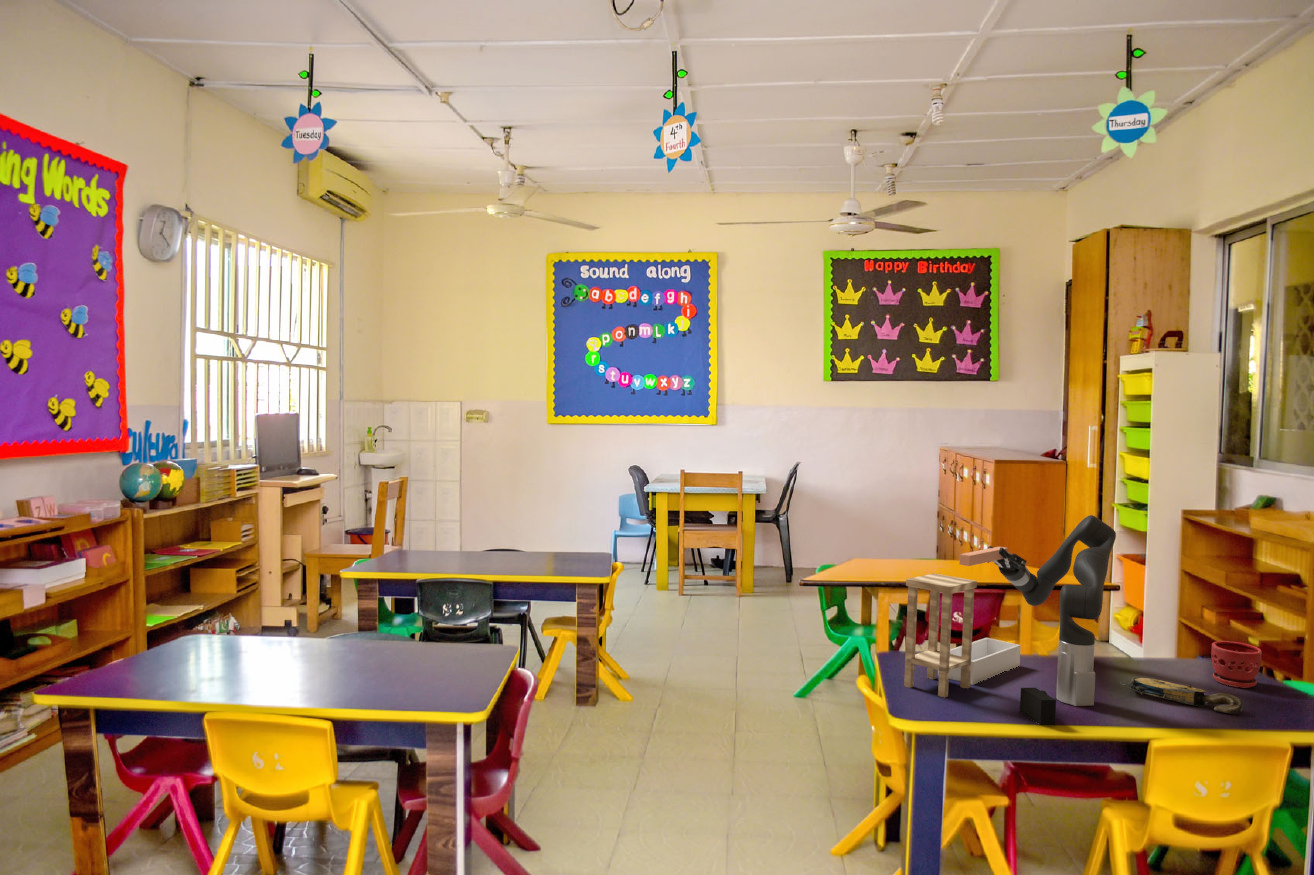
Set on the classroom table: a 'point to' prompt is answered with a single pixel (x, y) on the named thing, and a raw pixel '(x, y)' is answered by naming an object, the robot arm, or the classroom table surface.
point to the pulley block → (1186, 694)
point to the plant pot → (1235, 663)
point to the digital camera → (1038, 706)
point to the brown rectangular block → (981, 556)
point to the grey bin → (988, 659)
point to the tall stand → (943, 657)
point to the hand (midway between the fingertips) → (995, 549)
